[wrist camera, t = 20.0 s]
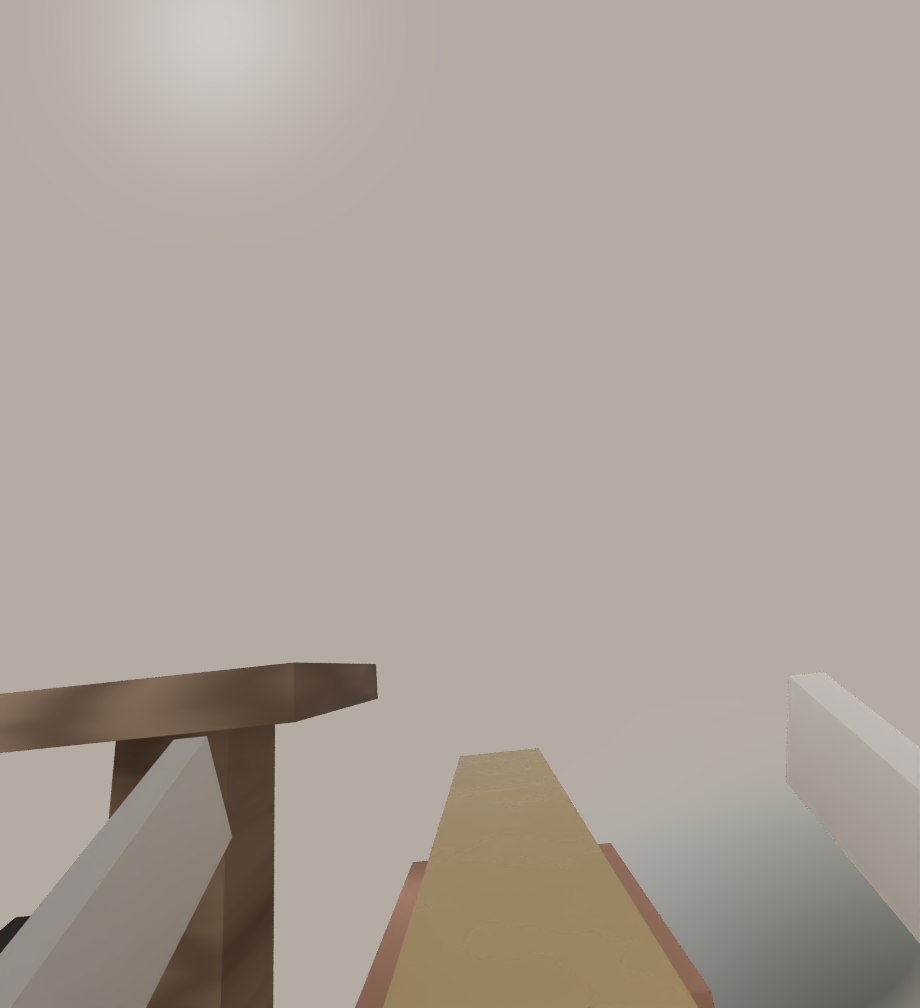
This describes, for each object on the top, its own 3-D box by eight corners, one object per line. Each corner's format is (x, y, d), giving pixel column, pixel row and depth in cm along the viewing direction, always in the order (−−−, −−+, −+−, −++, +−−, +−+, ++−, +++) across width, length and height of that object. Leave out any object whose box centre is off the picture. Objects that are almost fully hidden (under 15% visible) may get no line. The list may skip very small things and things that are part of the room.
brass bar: (370, 1515, 5) (357, 1090, 6) (466, 822, 26) (460, 756, 27) (813, 1482, 5) (727, 1056, 6) (547, 814, 26) (538, 748, 27)
